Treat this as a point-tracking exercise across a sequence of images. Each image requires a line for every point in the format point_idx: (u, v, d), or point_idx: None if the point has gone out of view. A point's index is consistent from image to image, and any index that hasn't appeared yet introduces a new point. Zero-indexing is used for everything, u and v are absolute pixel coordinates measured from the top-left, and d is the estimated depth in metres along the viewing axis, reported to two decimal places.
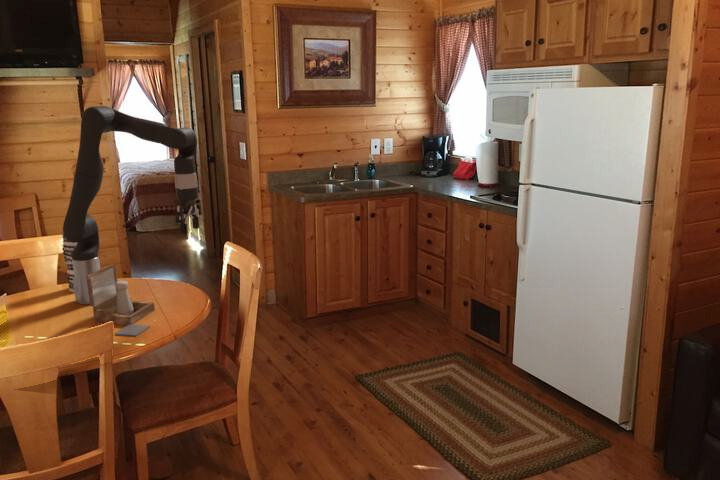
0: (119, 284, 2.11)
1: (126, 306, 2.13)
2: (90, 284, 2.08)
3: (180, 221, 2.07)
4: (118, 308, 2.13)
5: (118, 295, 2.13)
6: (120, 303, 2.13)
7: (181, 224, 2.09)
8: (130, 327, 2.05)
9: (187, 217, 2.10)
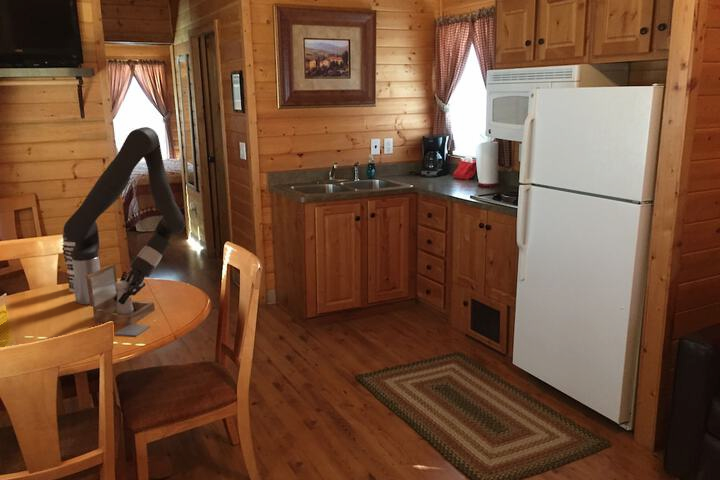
0: (119, 284, 2.11)
1: (126, 306, 2.13)
2: (90, 284, 2.08)
3: (133, 293, 2.12)
4: (118, 308, 2.13)
5: (118, 295, 2.13)
6: None
7: (127, 294, 2.12)
8: (130, 327, 2.05)
9: (133, 290, 2.15)
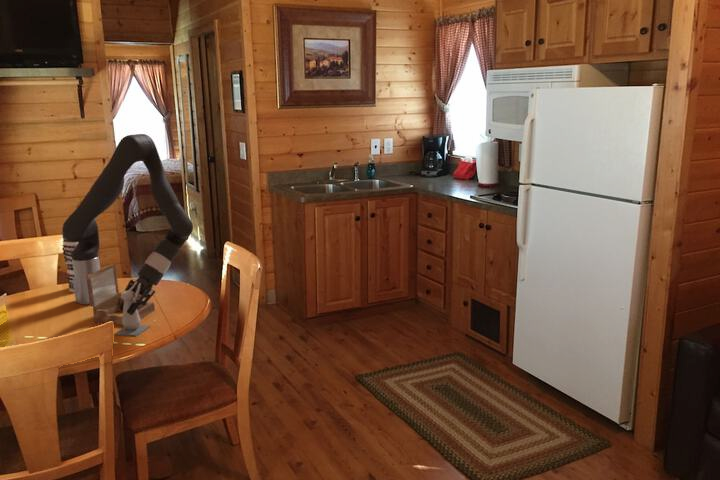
0: (125, 295, 1.99)
1: (132, 318, 2.01)
2: (90, 284, 2.08)
3: (143, 303, 1.98)
4: (124, 320, 2.01)
5: (125, 306, 2.00)
6: (127, 315, 2.00)
7: (137, 304, 1.98)
8: None
9: (142, 299, 2.01)
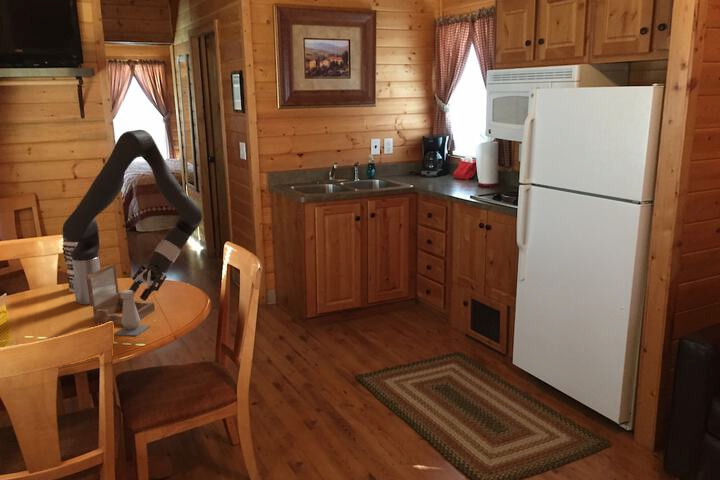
0: (125, 294, 2.00)
1: (132, 317, 2.02)
2: (90, 284, 2.08)
3: (156, 288, 1.99)
4: (124, 319, 2.01)
5: (124, 306, 2.01)
6: (126, 314, 2.01)
7: (150, 290, 1.99)
8: None
9: (154, 286, 2.02)
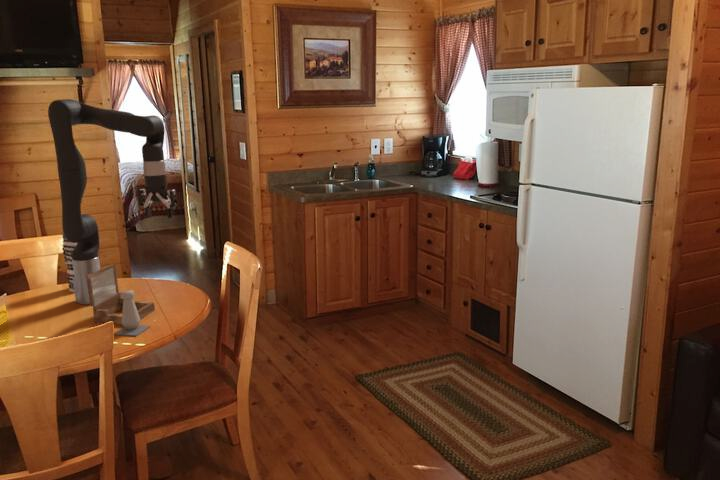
0: (125, 294, 2.00)
1: (132, 317, 2.02)
2: (90, 284, 2.08)
3: (176, 204, 2.16)
4: (124, 319, 2.01)
5: (124, 306, 2.01)
6: (126, 314, 2.01)
7: (172, 208, 2.17)
8: None
9: None
